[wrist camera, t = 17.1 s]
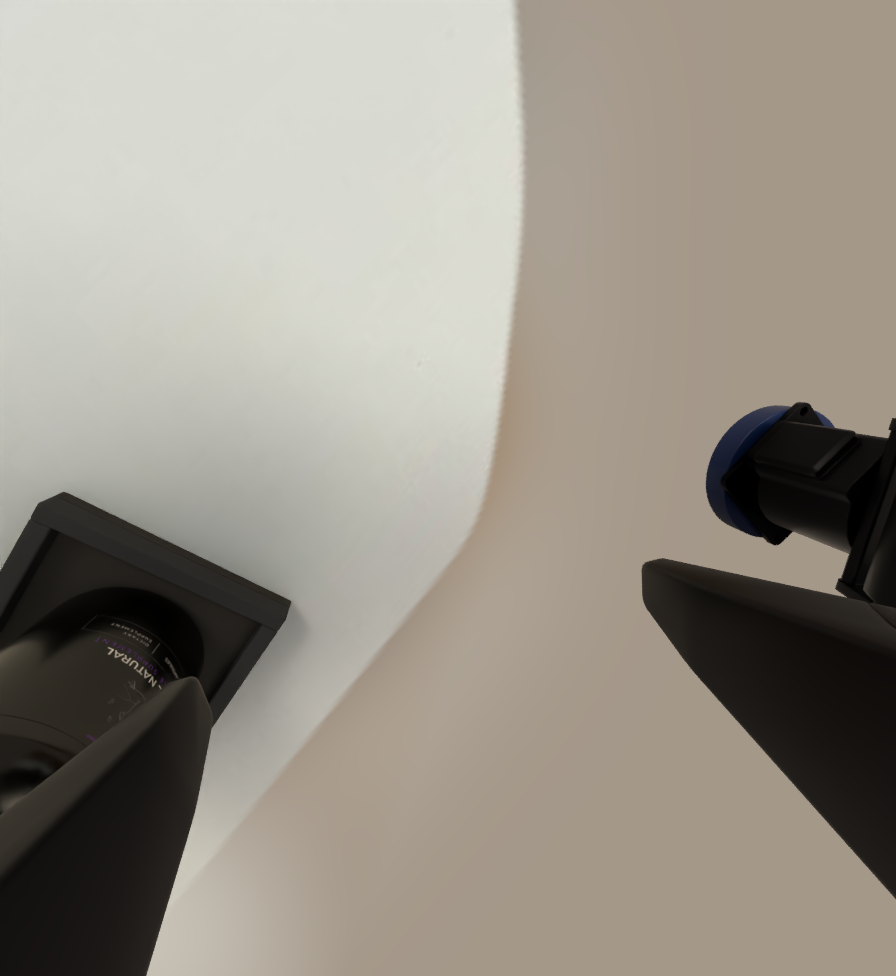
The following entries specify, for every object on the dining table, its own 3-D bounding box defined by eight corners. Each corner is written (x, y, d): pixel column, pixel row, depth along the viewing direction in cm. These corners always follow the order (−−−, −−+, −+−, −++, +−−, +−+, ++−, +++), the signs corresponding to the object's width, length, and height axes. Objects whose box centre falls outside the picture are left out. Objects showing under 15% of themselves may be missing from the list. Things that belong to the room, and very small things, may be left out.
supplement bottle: (228, 605, 21) (63, 904, 9) (184, 720, 22) (-7, 1107, 11) (62, 559, 19) (-395, 864, 7) (25, 689, 20) (-416, 1118, 9)
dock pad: (291, 600, 22) (286, 618, 20) (186, 757, 23) (173, 784, 22) (64, 490, 19) (37, 502, 17) (-44, 680, 20) (-77, 706, 18)
